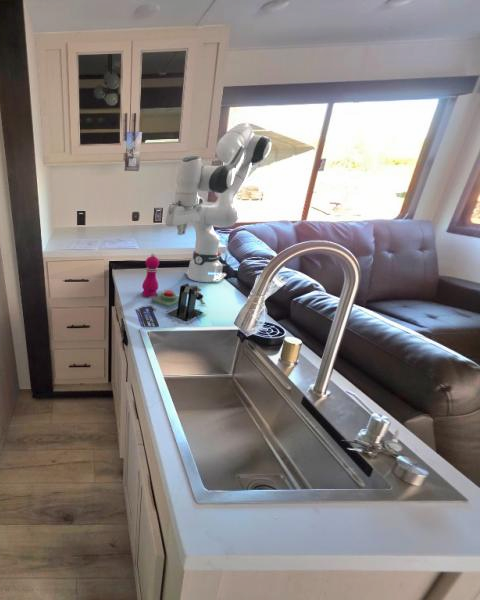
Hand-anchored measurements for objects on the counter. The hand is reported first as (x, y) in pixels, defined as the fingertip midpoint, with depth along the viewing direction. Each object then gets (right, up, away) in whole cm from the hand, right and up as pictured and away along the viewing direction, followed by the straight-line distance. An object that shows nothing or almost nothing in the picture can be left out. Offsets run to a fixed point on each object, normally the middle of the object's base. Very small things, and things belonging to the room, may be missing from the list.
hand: (181, 234), depth 132 cm
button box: (-4, -29, +6) cm, 30 cm away
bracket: (0, -34, -5) cm, 34 cm away
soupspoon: (+12, -26, +13) cm, 32 cm away
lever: (+3, -27, -6) cm, 27 cm away
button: (-4, -26, +5) cm, 26 cm away
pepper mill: (-10, -26, +15) cm, 31 cm away
